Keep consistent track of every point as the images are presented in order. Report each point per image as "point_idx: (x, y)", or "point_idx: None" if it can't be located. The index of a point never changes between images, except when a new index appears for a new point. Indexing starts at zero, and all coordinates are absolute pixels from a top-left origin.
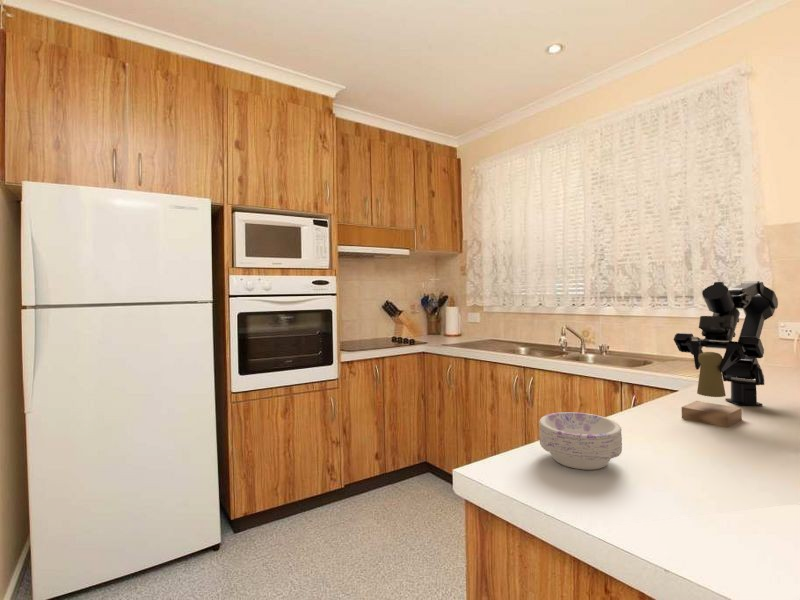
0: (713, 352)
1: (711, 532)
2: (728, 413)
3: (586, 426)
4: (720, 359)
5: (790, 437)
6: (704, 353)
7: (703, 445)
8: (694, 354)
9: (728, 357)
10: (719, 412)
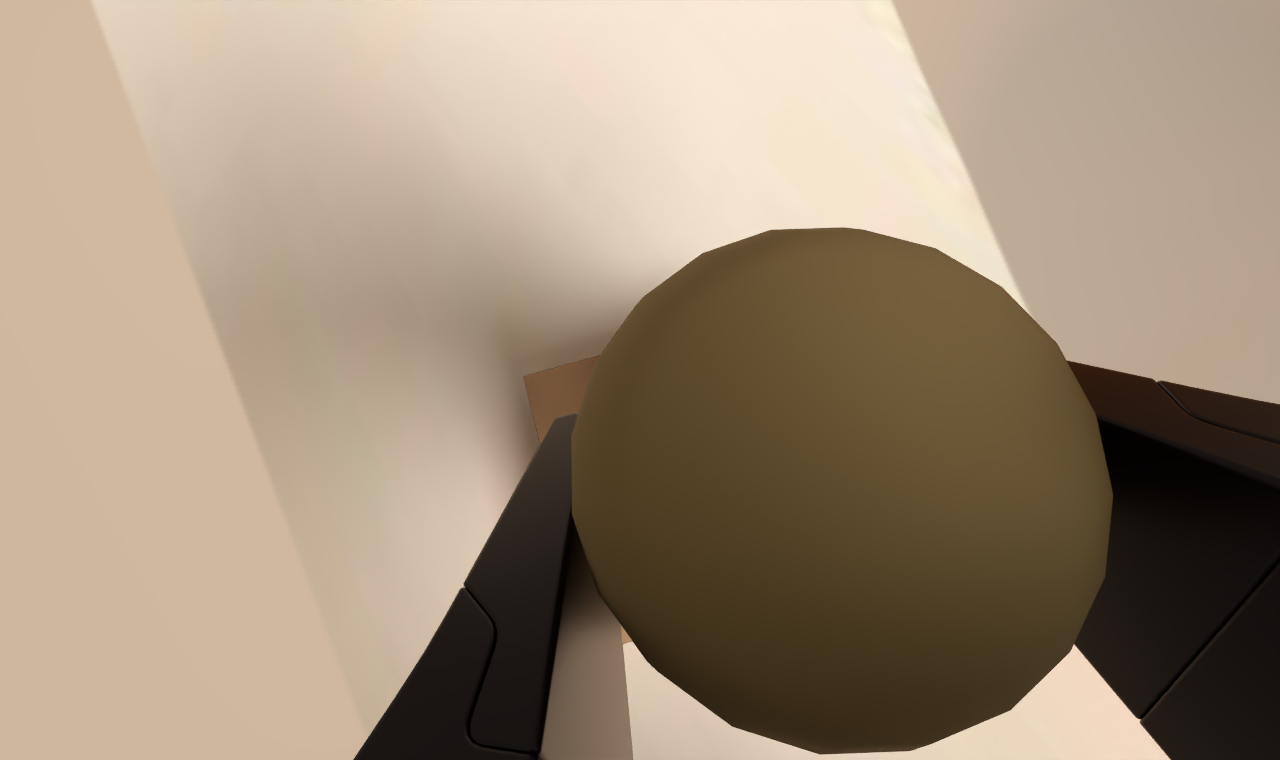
0: (800, 509)
1: None
2: (543, 419)
3: None
4: (574, 467)
5: (293, 504)
6: (883, 269)
7: (430, 46)
8: (1196, 397)
9: (451, 623)
10: (583, 391)
